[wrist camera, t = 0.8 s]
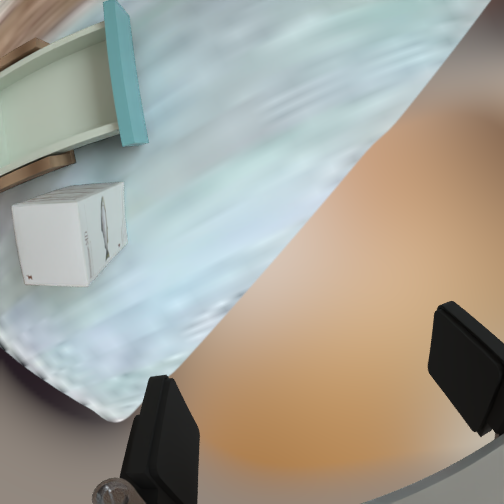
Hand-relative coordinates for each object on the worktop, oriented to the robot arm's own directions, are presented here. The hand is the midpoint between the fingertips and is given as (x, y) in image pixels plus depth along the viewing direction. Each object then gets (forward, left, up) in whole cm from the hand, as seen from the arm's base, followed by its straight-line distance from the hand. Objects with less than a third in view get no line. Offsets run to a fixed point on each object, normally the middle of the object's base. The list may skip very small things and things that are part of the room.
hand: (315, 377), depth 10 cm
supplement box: (-3, -17, -27) cm, 32 cm away
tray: (-17, -19, -26) cm, 36 cm away
